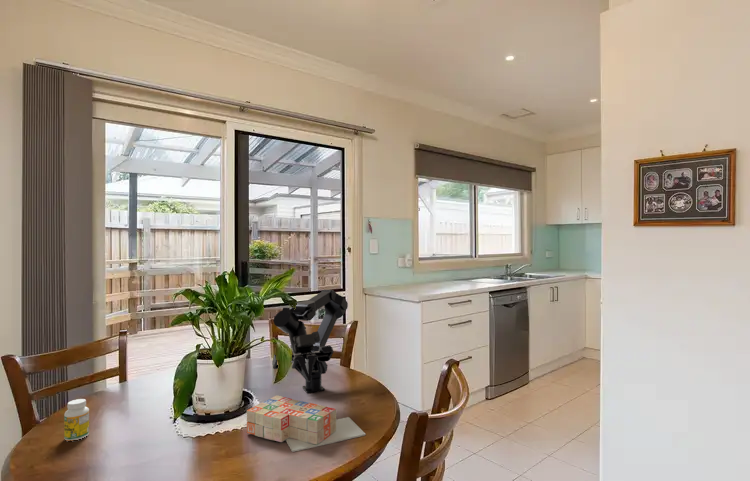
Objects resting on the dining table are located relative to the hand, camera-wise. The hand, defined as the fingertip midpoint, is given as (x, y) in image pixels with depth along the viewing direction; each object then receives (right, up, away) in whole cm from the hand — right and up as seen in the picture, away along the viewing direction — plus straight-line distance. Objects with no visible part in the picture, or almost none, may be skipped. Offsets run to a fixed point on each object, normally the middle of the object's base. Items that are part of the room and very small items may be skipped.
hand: (309, 381), depth 123 cm
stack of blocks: (0, -6, -7) cm, 10 cm away
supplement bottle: (-60, -10, -15) cm, 63 cm away
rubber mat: (+6, -10, -13) cm, 17 cm away
